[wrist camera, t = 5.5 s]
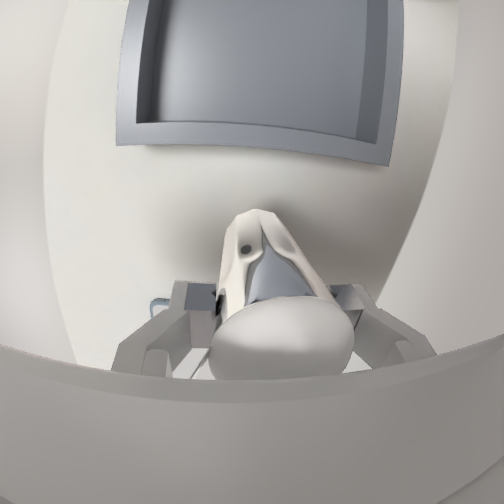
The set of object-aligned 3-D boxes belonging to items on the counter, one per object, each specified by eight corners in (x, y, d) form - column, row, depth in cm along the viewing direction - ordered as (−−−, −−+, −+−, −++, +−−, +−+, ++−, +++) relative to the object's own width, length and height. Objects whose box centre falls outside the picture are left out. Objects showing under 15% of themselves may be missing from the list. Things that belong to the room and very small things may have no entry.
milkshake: (208, 183, 13) (184, 346, 5) (309, 207, 14) (408, 359, 6) (191, 261, 15) (170, 435, 7) (281, 277, 16) (328, 437, 8)
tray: (163, -51, 9) (152, -76, 6) (374, -23, 11) (400, -39, 7) (136, 138, 17) (115, 146, 13) (361, 154, 19) (388, 166, 15)
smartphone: (164, 392, 30) (148, 301, 22) (164, 386, 31) (150, 294, 23) (231, 396, 31) (244, 308, 24) (231, 390, 32) (243, 300, 24)
